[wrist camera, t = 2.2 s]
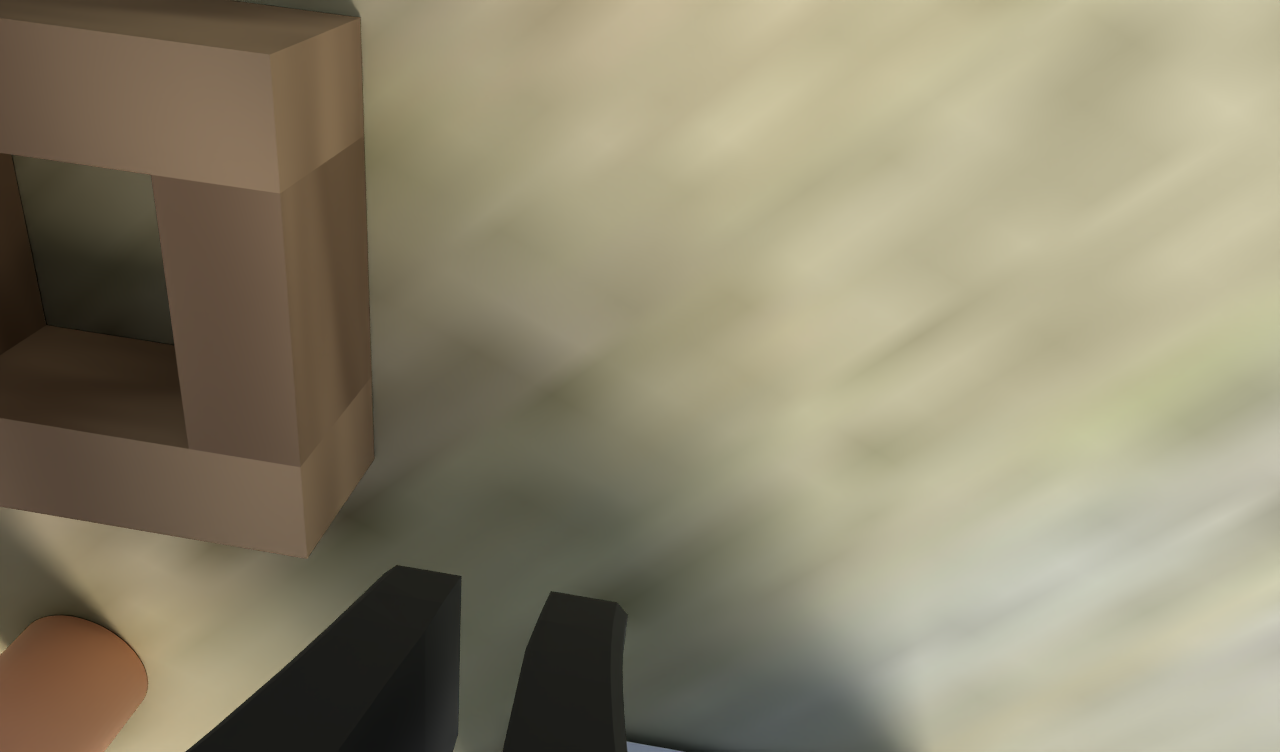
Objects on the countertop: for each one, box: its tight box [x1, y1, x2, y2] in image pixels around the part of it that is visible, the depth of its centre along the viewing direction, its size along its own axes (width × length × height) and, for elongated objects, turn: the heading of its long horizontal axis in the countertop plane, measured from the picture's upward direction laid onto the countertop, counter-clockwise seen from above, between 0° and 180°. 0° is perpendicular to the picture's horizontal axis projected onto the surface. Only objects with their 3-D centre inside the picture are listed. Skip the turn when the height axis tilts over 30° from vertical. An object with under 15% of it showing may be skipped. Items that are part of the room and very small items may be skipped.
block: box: [0, 0, 374, 559], centre depth 16 cm, size 8×8×3 cm
